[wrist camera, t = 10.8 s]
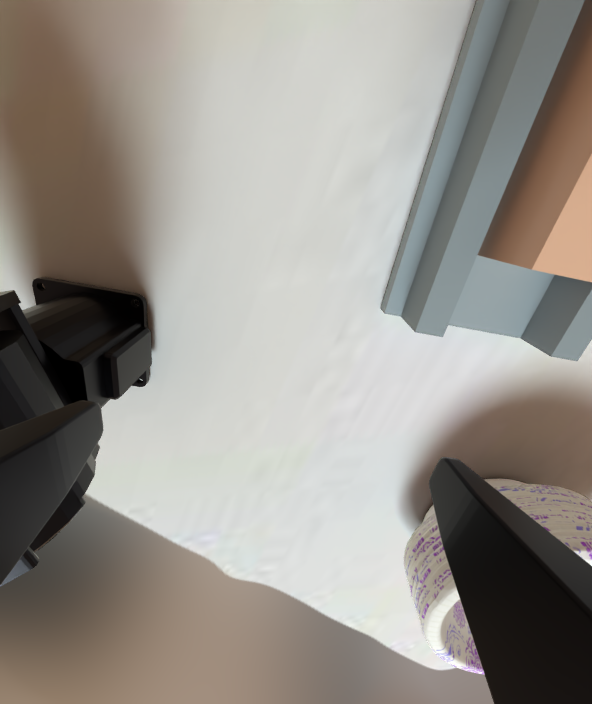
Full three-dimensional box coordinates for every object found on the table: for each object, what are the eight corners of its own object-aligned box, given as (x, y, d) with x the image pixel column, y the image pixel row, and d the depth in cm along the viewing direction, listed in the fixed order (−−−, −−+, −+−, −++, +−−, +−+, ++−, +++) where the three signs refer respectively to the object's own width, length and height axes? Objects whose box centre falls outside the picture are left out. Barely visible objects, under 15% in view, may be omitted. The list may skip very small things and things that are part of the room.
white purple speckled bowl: (592, 438, 23) (725, 543, 16) (555, 560, 29) (638, 674, 22) (387, 462, 24) (423, 569, 17) (395, 573, 31) (423, 685, 23)
